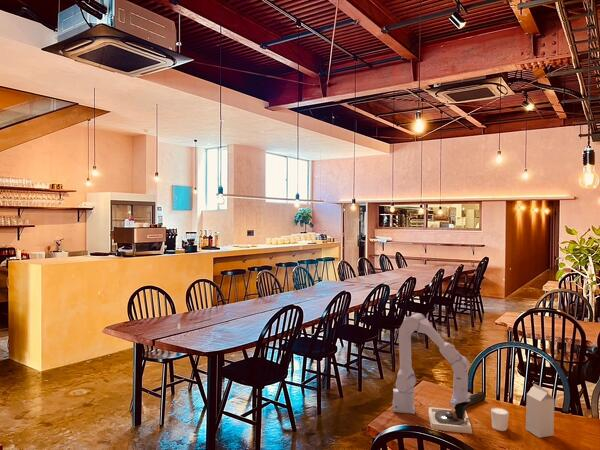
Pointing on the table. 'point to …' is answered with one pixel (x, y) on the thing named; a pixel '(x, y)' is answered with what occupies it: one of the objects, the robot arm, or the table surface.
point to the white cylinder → (499, 418)
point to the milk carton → (540, 412)
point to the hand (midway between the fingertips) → (459, 418)
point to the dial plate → (447, 427)
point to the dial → (449, 417)
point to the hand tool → (476, 398)
